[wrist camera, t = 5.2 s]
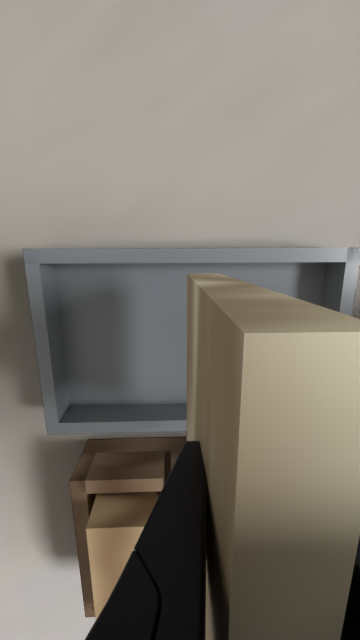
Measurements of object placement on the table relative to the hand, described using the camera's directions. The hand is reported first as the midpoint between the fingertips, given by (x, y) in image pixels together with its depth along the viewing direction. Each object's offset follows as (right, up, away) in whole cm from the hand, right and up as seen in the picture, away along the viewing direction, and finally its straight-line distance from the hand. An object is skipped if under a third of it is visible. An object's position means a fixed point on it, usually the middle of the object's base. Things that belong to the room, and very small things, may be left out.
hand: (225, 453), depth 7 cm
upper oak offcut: (-5, -12, +11) cm, 17 cm away
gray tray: (0, +3, +12) cm, 12 cm away
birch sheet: (0, +1, +6) cm, 6 cm away
